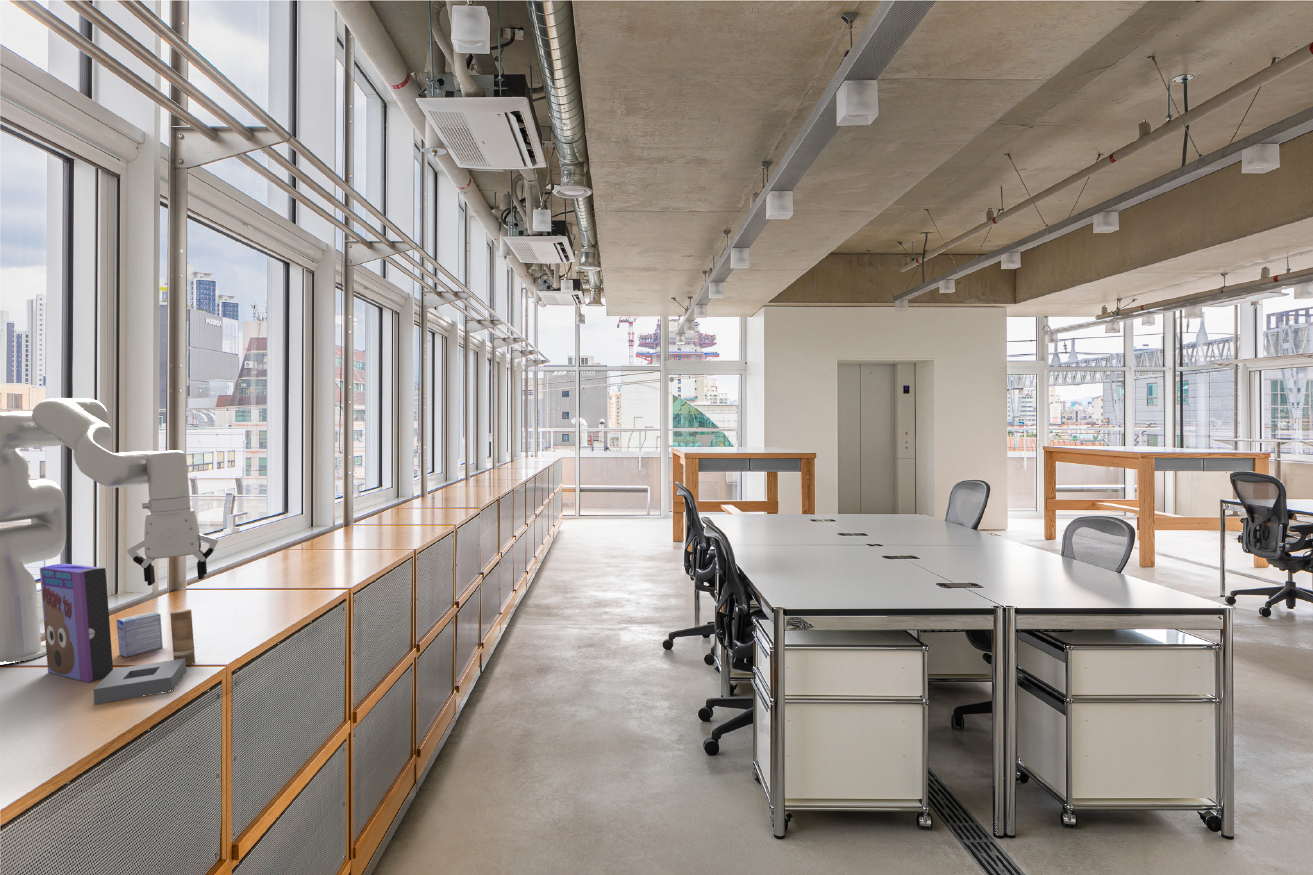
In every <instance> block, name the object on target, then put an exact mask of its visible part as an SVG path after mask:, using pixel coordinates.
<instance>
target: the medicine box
mask: <svg viewBox="0 0 1313 875" xmlns="http://www.w3.org/2000/svg"><path fill="white" fill-rule="evenodd" d="M116 630H117V631H116V632H117V640H118V641H117V642H118V653H119V655H120V656H122V657H125V658H127V657H130V656H131V657H132V656H136V655H139V654H140V655H141V654H143V653H147V652H151V651H154V650H159V649H162V648H163V647H164V646H163V645H164V642H163V632H162V618H161V613H159V612H155V611H148V612H145V613H138V614H134V615H130V616H127V617H123V618H118V619H116Z"/></svg>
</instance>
